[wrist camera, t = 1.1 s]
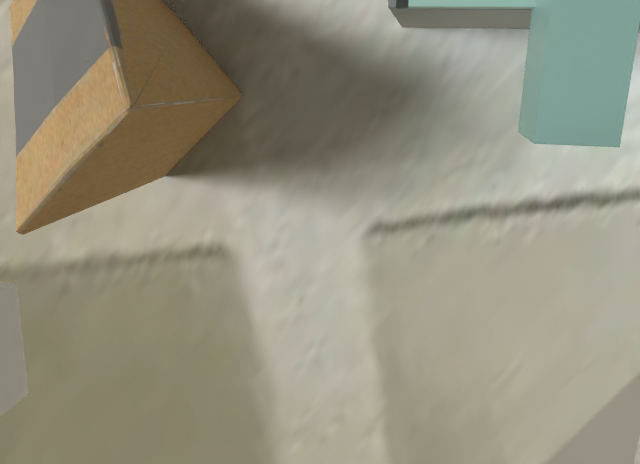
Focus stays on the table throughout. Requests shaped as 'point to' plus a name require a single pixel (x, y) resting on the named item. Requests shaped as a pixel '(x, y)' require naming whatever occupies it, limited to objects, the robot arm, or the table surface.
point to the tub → (460, 17)
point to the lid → (571, 67)
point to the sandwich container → (104, 101)
